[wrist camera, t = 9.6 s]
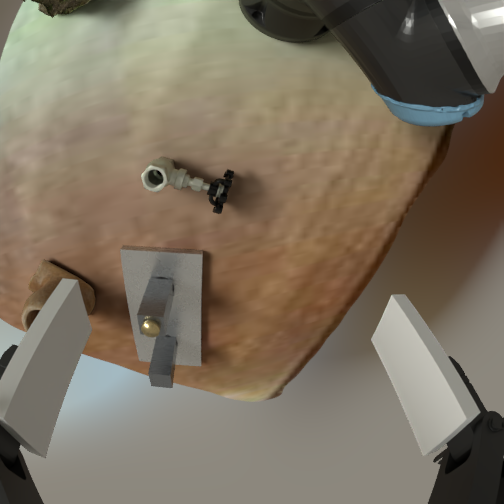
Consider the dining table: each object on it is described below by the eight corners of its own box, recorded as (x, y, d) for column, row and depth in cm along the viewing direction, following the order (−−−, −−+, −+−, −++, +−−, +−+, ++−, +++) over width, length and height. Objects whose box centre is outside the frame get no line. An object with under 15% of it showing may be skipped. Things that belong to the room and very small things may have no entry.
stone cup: (105, 279, 49) (76, 334, 36) (90, 317, 53) (66, 371, 40) (42, 240, 44) (-1, 285, 31) (33, 283, 48) (-1, 329, 35)
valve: (146, 184, 42) (219, 206, 45) (134, 198, 36) (218, 222, 39) (157, 144, 39) (233, 166, 42) (145, 151, 33) (234, 177, 36)
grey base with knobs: (203, 250, 48) (197, 291, 38) (201, 361, 61) (199, 403, 51) (122, 245, 46) (99, 283, 36) (140, 355, 59) (131, 396, 49)
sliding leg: (172, 279, 48) (162, 321, 39) (173, 298, 50) (164, 341, 40) (149, 277, 47) (135, 319, 38) (151, 296, 49) (139, 338, 40)
